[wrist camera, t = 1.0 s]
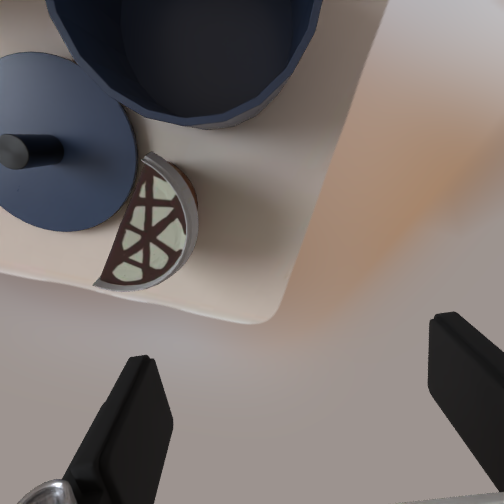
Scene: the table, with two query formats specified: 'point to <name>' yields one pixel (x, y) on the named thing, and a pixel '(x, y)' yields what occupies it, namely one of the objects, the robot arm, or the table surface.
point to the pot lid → (61, 145)
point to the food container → (153, 229)
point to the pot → (188, 53)
